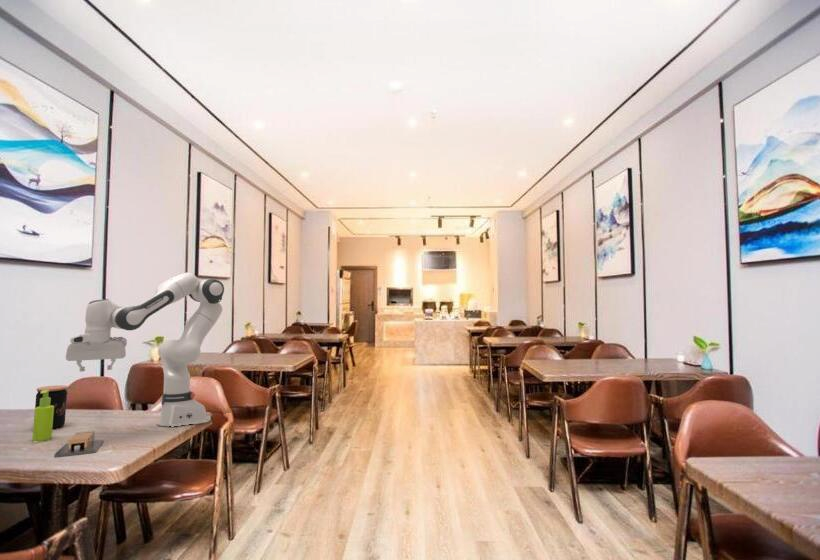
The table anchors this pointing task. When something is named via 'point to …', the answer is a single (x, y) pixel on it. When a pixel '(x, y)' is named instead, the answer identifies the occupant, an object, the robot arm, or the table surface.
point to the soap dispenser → (43, 418)
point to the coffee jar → (55, 403)
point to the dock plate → (83, 451)
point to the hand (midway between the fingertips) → (96, 370)
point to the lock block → (81, 440)
